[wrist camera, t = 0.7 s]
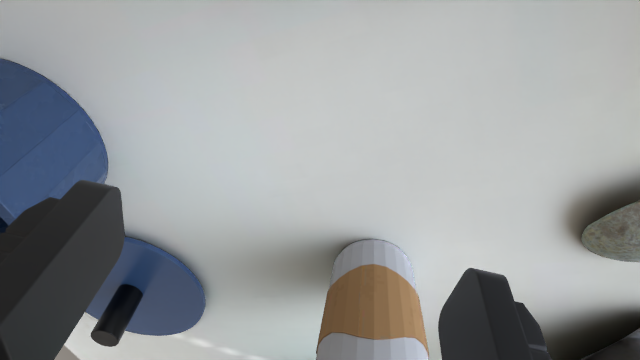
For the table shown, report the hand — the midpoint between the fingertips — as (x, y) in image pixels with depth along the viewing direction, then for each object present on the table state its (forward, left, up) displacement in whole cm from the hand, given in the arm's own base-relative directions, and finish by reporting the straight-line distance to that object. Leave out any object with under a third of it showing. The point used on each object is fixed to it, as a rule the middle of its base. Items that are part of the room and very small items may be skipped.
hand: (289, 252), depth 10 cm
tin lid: (+28, -11, -17) cm, 35 cm away
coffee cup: (+18, +8, -18) cm, 27 cm away
